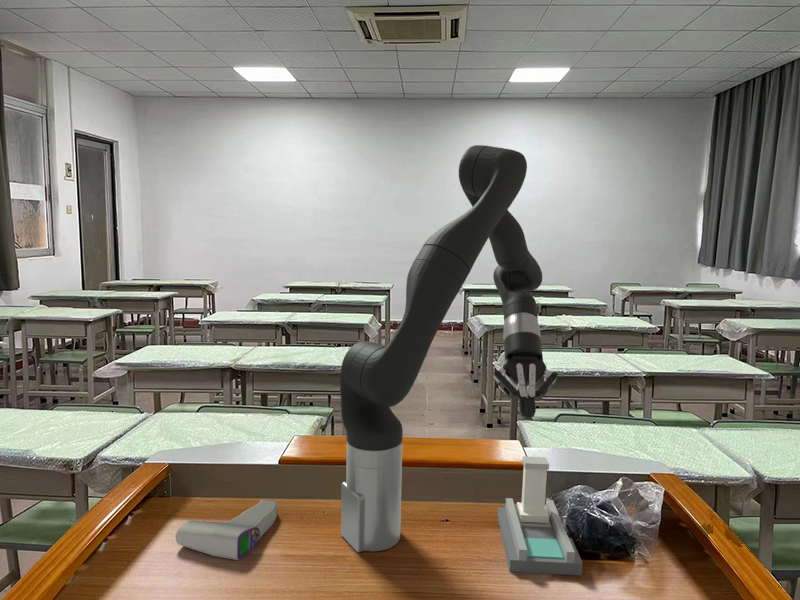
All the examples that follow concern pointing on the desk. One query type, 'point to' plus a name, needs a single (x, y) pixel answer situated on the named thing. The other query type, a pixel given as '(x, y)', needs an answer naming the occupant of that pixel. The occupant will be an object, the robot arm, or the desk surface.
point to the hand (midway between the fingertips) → (528, 417)
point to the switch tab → (534, 490)
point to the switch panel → (537, 543)
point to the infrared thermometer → (229, 532)
